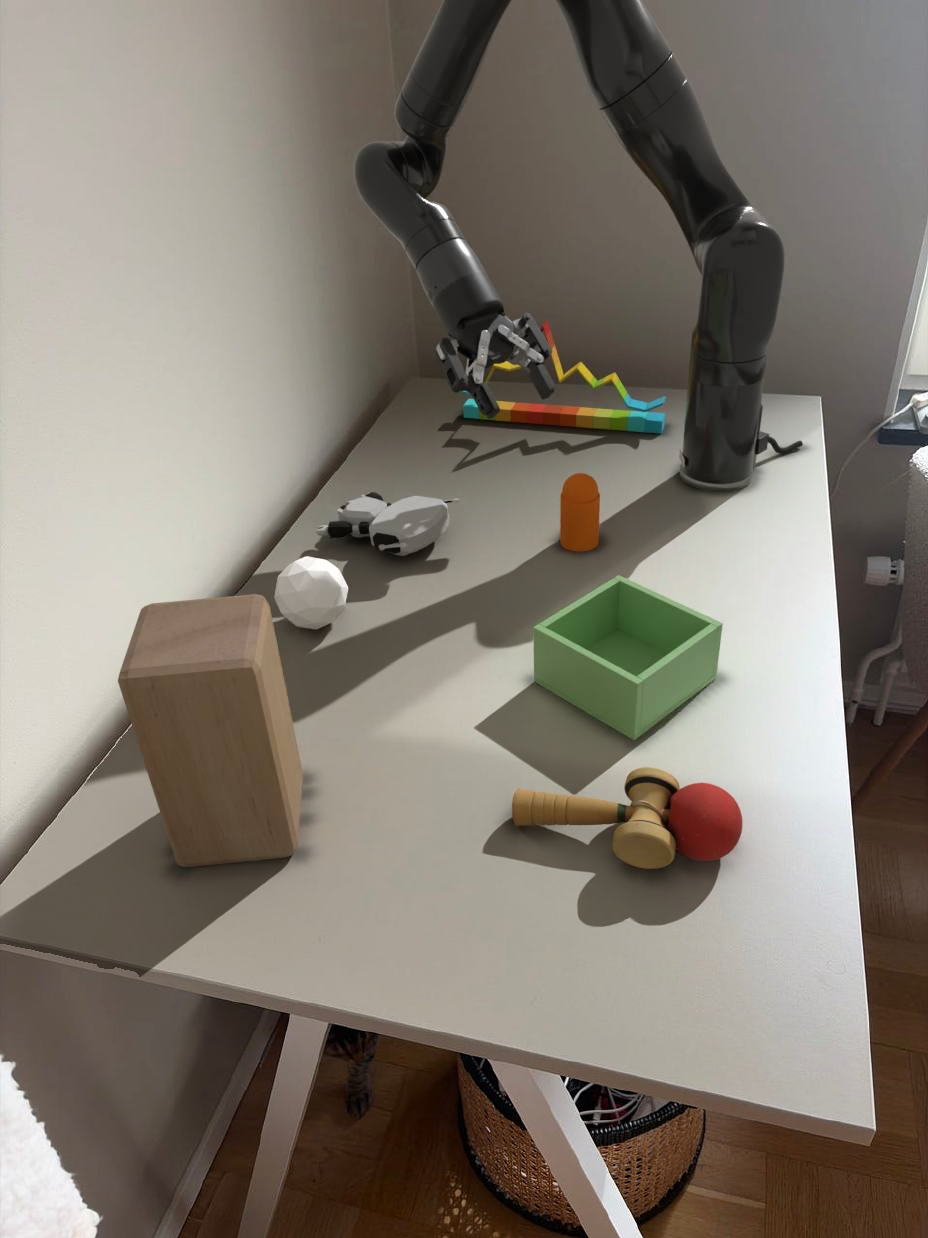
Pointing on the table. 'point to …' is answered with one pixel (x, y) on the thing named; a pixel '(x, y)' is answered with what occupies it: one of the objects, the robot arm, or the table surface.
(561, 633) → the bin
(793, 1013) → the table surface
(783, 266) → the robot arm
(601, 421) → the chart
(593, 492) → the orange peg figure
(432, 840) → the table surface
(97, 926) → the table surface
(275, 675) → the block
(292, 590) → the geometric ball
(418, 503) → the robot toy
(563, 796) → the kendama
